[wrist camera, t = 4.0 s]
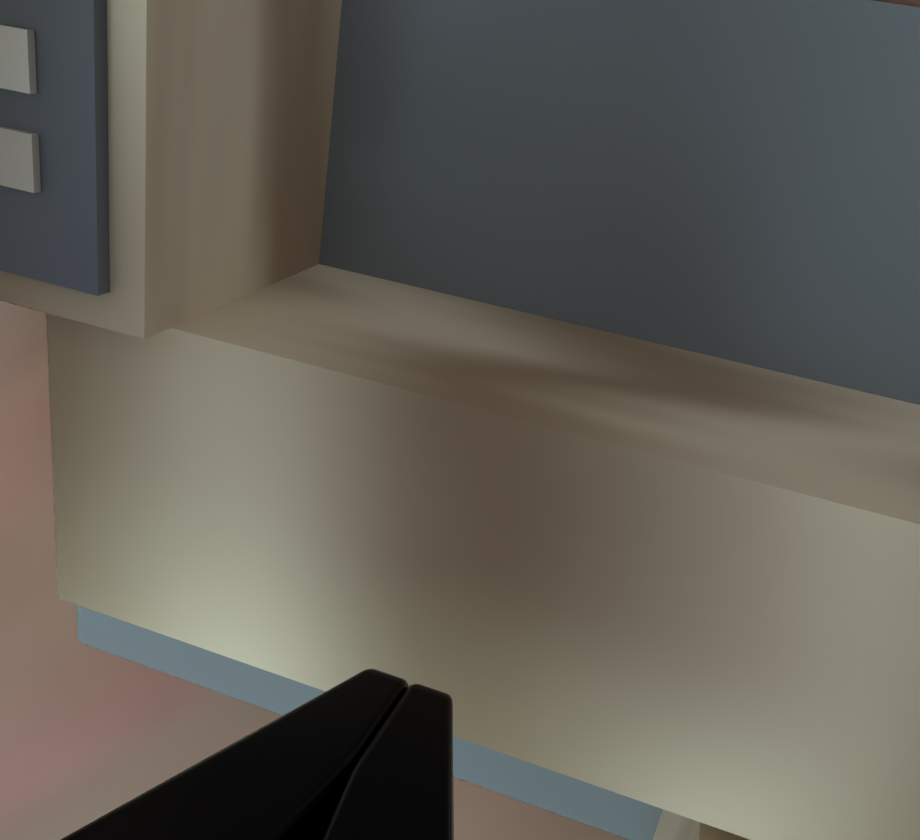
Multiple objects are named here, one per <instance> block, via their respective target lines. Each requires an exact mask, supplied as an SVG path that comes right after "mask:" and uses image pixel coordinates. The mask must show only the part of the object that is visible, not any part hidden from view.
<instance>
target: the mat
mask: <svg viewBox="0 0 920 840" xmlns="http://www.w3.org/2000/svg"><path fill="white" fill-rule="evenodd" d="M319 264H321V265H325V266H329V267H334V268H338V269H342V270H346V271H351V272H355V273H359V274H363V275H368V276H372V277H376V278H381V279H385V280H389V281H393V282H398V283H402V284H406V285H410V286H415V287H419V288H423V289H427V290H432V291H436V292H440V293H444V294H449V295H453V296H457V297H461V298H466V299H470V300H474V301H479V302H483V303H487V304H491V305H496V306H500V307H504V308H508V309H513V310H517V311H521V312H525V313H530V314H534V315H538V316H542V317H547V318H551V319H555V320H559V321H564V322H568V323H572V324H577V325H581V326H585V327H589V328H594V329H598V330H602V331H606V332H611V333H615V334H619V335H623V336H628V337H632V338H636V339H640V340H645V341H649V342H653V343H657V344H662V345H666V346H670V347H674V348H679V349H683V350H687V351H692V352H696V353H700V354H704V355H709V356H713V357H717V358H721V359H726V360H730V361H734V362H738V363H743V364H747V365H751V366H755V367H760V368H764V369H768V370H772V371H777V372H781V373H785V374H790V375H794V376H798V377H802V378H807V379H811V380H815V381H819V382H824V383H828V384H832V385H836V386H841V387H845V388H849V389H853V390H858V391H862V392H866V393H870V394H875V395H879V396H883V397H888V398H892V399H896V400H900V401H905V402H909V403H913V404H917V405H920V7H916V6H909V5H902V4H894V3H887V2H880V1H873V0H342V6H341V17H340V29H339V40H338V52H337V63H336V75H335V86H334V97H333V109H332V120H331V132H330V143H329V155H328V166H327V177H326V189H325V200H324V212H323V223H322V235H321V246H320V257H319ZM77 623H78V642H81V643H83V644H86V645H89V646H92V647H95V648H97V649H100V650H103V651H106V652H108V653H111V654H114V655H117V656H120V657H122V658H125V659H128V660H131V661H134V662H136V663H139V664H142V665H145V666H147V667H150V668H153V669H156V670H159V671H161V672H164V673H167V674H170V675H172V676H175V677H178V678H181V679H184V680H186V681H189V682H192V683H195V684H197V685H200V686H203V687H206V688H209V689H211V690H214V691H217V692H220V693H222V694H225V695H228V696H231V697H234V698H236V699H239V700H242V701H245V702H248V703H250V704H253V705H256V706H259V707H261V708H264V709H267V710H270V711H273V712H275V713H278V714H281V715H285V714H286V713H288V712H290V711H292V710H294V709H295V708H297V707H299V706H301V705H302V704H304V703H306V702H308V701H310V700H311V699H313V698H315V697H317V696H319V695H320V694H322V693H324V692H326V691H323V690H320V689H317V688H314V687H311V686H309V685H306V684H303V683H300V682H297V681H294V680H291V679H289V678H286V677H283V676H280V675H277V674H274V673H271V672H268V671H266V670H263V669H260V668H257V667H254V666H251V665H248V664H246V663H243V662H240V661H237V660H234V659H231V658H228V657H225V656H223V655H220V654H217V653H214V652H211V651H208V650H205V649H203V648H200V647H197V646H194V645H191V644H188V643H185V642H183V641H180V640H177V639H174V638H171V637H168V636H165V635H162V634H160V633H157V632H154V631H151V630H148V629H145V628H142V627H140V626H137V625H134V624H131V623H128V622H125V621H122V620H119V619H117V618H114V617H111V616H108V615H105V614H102V613H99V612H97V611H94V610H91V609H88V608H85V607H82V606H79V605H77ZM453 777H456V778H459V779H462V780H464V781H467V782H470V783H473V784H476V785H478V786H481V787H484V788H487V789H489V790H492V791H495V792H498V793H501V794H503V795H506V796H509V797H512V798H515V799H517V800H520V801H523V802H526V803H528V804H531V805H534V806H537V807H540V808H542V809H545V810H548V811H551V812H553V813H556V814H559V815H562V816H565V817H567V818H570V819H573V820H576V821H578V822H581V823H584V824H587V825H590V826H592V827H595V828H598V829H601V830H603V831H606V832H609V833H612V834H615V835H617V836H620V837H623V838H626V839H629V840H653V837H654V834H655V831H656V828H657V825H658V822H659V819H660V816H661V813H662V810H663V809H661V808H658V807H655V806H652V805H649V804H647V803H644V802H641V801H638V800H635V799H632V798H629V797H627V796H624V795H621V794H618V793H615V792H612V791H609V790H606V789H604V788H601V787H598V786H595V785H592V784H589V783H586V782H584V781H581V780H578V779H575V778H572V777H569V776H566V775H564V774H561V773H558V772H555V771H552V770H549V769H546V768H543V767H541V766H538V765H535V764H532V763H529V762H526V761H523V760H521V759H518V758H515V757H512V756H509V755H506V754H503V753H500V752H498V751H495V750H492V749H489V748H486V747H483V746H480V745H478V744H475V743H472V742H469V741H466V740H463V739H460V738H458V737H455V736H453Z"/></svg>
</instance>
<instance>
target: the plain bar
mask: <svg viewBox="0 0 920 840" xmlns="http://www.w3.org/2000/svg"><path fill="white" fill-rule="evenodd" d="M46 318H47V342H48V367H49V392H50V417H51V441H52V466H53V491H54V516H55V540H56V565H57V590H58V598H59V599H62V600H65V601H68V602H71V603H74V604H77V605H79V606H82V607H85V608H88V609H91V610H94V611H97V612H99V613H102V614H105V615H108V616H111V617H114V618H117V619H119V620H122V621H125V622H128V623H131V624H134V625H137V626H140V627H142V628H145V629H148V630H151V631H154V632H157V633H160V634H162V635H165V636H168V637H171V638H174V639H177V640H180V641H183V642H185V643H188V644H191V645H194V646H197V647H200V648H203V649H205V650H208V651H211V652H214V653H217V654H220V655H223V656H225V657H228V658H231V659H234V660H237V661H240V662H243V663H246V664H248V665H251V666H254V667H257V668H260V669H263V670H266V671H268V672H271V673H274V674H277V675H280V676H283V677H286V678H289V679H291V680H294V681H297V682H300V683H303V684H306V685H309V686H311V687H314V688H317V689H320V690H323V691H328V690H329V689H331V688H333V687H335V686H337V685H338V684H340V683H342V682H344V681H345V680H347V679H349V678H351V677H353V676H354V675H356V674H358V673H360V672H362V671H364V670H367V669H376V670H379V671H382V672H385V673H388V674H391V675H394V676H397V677H400V678H403V679H404V680H406V682H407V683H408V685H409V686H410V685H412V684H420V685H423V686H426V687H429V688H432V689H435V690H438V691H441V692H444V693H447V694H449V695H450V696H451V698H452V701H453V736H455V737H458V738H460V739H463V740H466V741H469V742H472V743H475V744H478V745H480V746H483V747H486V748H489V749H492V750H495V751H498V752H500V753H503V754H506V755H509V756H512V757H515V758H518V759H521V760H523V761H526V762H529V763H532V764H535V765H538V766H541V767H543V768H546V769H549V770H552V771H555V772H558V773H561V774H564V775H566V776H569V777H572V778H575V779H578V780H581V781H584V782H586V783H589V784H592V785H595V786H598V787H601V788H604V789H606V790H609V791H612V792H615V793H618V794H621V795H624V796H627V797H629V798H632V799H635V800H638V801H641V802H644V803H647V804H649V805H652V806H655V807H658V808H661V809H664V810H667V811H670V812H672V813H675V814H678V815H681V816H684V817H687V818H690V819H692V820H695V821H698V822H701V823H704V824H707V825H710V826H712V827H715V828H718V829H721V830H724V831H727V832H730V833H733V834H735V835H738V836H741V837H744V838H747V839H750V840H920V405H917V404H913V403H909V402H905V401H900V400H896V399H892V398H888V397H883V396H879V395H875V394H870V393H866V392H862V391H858V390H853V389H849V388H845V387H841V386H836V385H832V384H828V383H824V382H819V381H815V380H811V379H807V378H802V377H798V376H794V375H790V374H785V373H781V372H777V371H772V370H768V369H764V368H760V367H755V366H751V365H747V364H743V363H738V362H734V361H730V360H726V359H721V358H717V357H713V356H709V355H704V354H700V353H696V352H692V351H687V350H683V349H679V348H674V347H670V346H666V345H662V344H657V343H653V342H649V341H645V340H640V339H636V338H632V337H628V336H623V335H619V334H615V333H611V332H606V331H602V330H598V329H594V328H589V327H585V326H581V325H577V324H572V323H568V322H564V321H559V320H555V319H551V318H547V317H542V316H538V315H534V314H530V313H525V312H521V311H517V310H513V309H508V308H504V307H500V306H496V305H491V304H487V303H483V302H479V301H474V300H470V299H466V298H461V297H457V296H453V295H449V294H444V293H440V292H436V291H432V290H427V289H423V288H419V287H415V286H410V285H406V284H402V283H398V282H393V281H389V280H385V279H381V278H376V277H372V276H368V275H363V274H359V273H355V272H351V271H346V270H342V269H338V268H334V267H329V266H325V265H321V264H318V265H316V266H313V267H311V268H309V269H306V270H304V271H302V272H299V273H297V274H295V275H292V276H290V277H288V278H285V279H283V280H281V281H278V282H276V283H274V284H271V285H269V286H267V287H264V288H262V289H260V290H257V291H255V292H253V293H250V294H248V295H246V296H243V297H241V298H239V299H236V300H234V301H232V302H229V303H227V304H225V305H223V306H220V307H218V308H216V309H213V310H211V311H209V312H206V313H204V314H202V315H199V316H197V317H195V318H192V319H190V320H188V321H185V322H183V323H181V324H178V325H176V326H174V327H171V328H169V329H167V330H164V331H162V332H160V333H157V334H155V335H153V336H150V337H148V338H146V339H142V338H139V337H135V336H131V335H127V334H124V333H120V332H116V331H112V330H109V329H105V328H101V327H97V326H94V325H90V324H86V323H82V322H79V321H75V320H71V319H67V318H64V317H60V316H56V315H53V314H49V313H46Z"/></svg>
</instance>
